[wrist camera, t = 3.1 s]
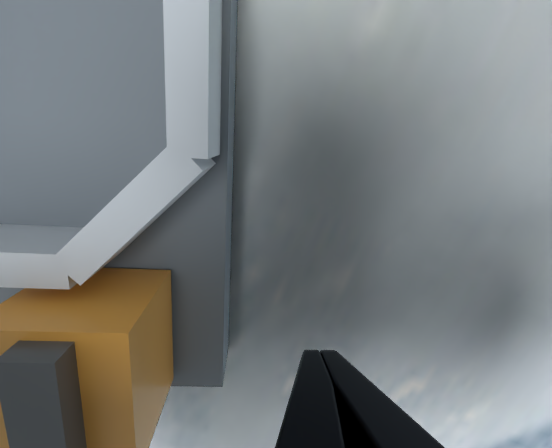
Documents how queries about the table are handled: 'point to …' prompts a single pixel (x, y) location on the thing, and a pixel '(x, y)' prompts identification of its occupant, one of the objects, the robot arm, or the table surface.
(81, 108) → the octagon socket plate
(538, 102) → the table surface
